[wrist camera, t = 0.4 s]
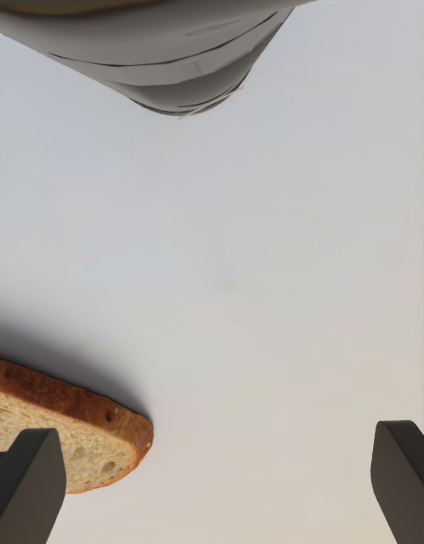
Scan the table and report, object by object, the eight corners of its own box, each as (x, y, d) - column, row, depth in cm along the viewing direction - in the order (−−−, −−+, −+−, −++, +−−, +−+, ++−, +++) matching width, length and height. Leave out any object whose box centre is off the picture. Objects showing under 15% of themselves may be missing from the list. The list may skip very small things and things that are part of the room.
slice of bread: (169, 448, 32) (165, 488, 28) (-13, 520, 34) (-38, 565, 30) (47, 262, 26) (22, 282, 22) (-163, 363, 28) (-214, 395, 25)
